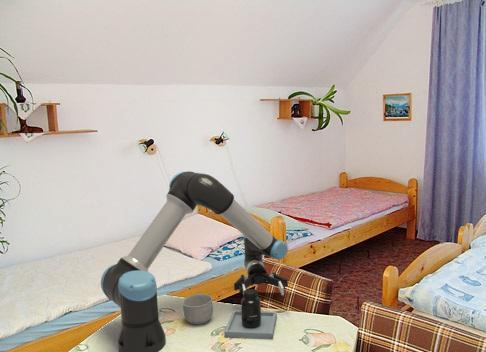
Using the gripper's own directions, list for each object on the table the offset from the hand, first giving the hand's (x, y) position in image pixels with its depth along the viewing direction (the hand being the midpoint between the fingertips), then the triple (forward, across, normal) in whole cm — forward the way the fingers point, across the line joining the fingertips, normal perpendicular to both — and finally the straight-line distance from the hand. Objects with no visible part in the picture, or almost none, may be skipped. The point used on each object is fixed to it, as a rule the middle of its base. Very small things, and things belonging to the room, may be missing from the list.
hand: (264, 293), depth 157 cm
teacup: (-5, +24, -10) cm, 26 cm away
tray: (+5, +5, -10) cm, 12 cm away
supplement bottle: (+5, +5, -9) cm, 12 cm away
